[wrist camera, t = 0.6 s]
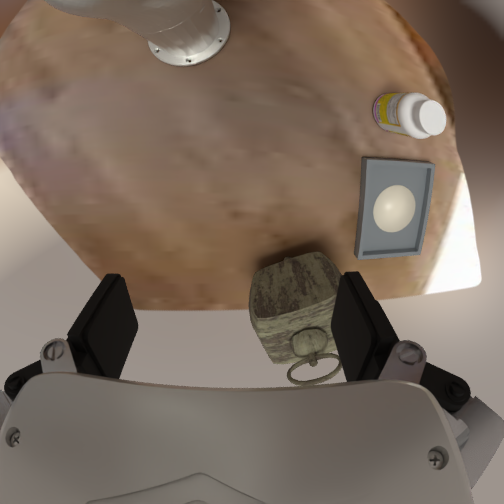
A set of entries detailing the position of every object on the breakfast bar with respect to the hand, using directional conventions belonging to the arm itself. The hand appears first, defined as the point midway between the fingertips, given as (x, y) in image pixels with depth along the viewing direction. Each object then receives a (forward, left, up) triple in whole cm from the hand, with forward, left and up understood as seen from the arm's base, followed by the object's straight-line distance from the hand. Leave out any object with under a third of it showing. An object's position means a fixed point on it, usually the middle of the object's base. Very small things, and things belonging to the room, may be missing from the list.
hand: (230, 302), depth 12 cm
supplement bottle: (-8, +24, -34) cm, 43 cm away
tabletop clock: (+20, +7, -34) cm, 40 cm away
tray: (+9, +26, -34) cm, 44 cm away
